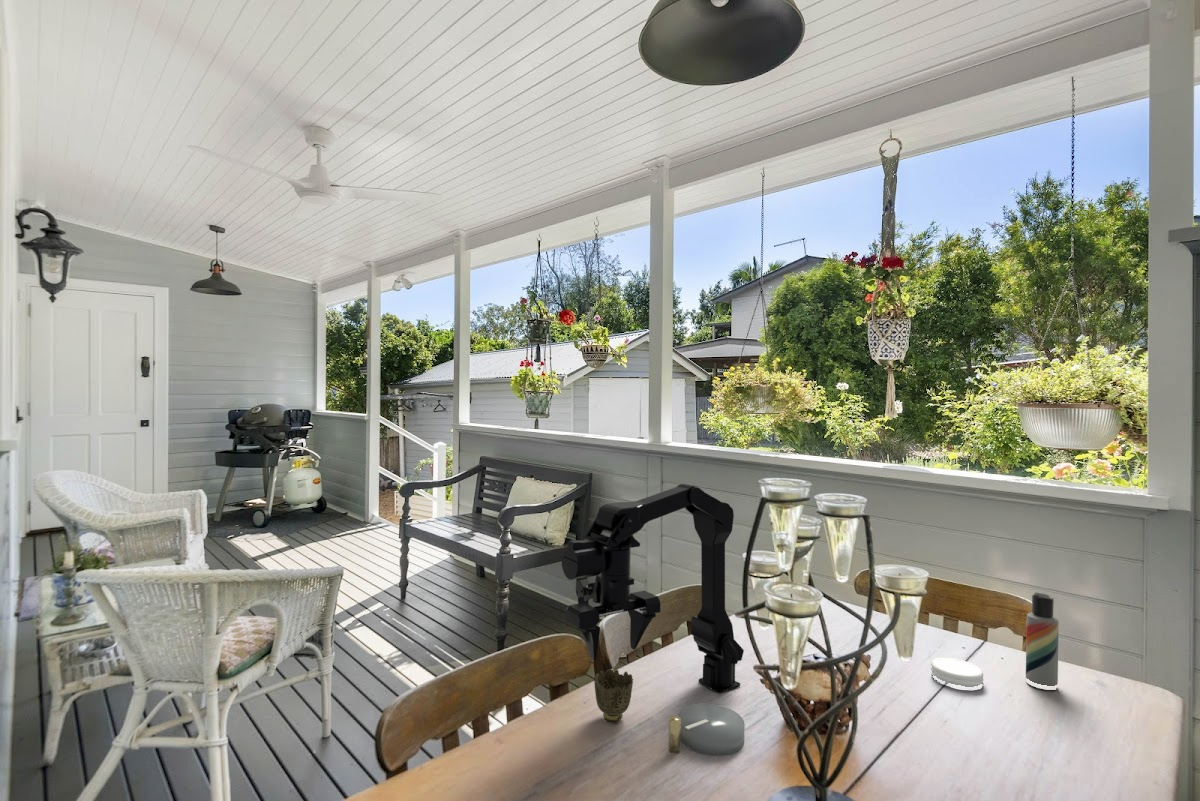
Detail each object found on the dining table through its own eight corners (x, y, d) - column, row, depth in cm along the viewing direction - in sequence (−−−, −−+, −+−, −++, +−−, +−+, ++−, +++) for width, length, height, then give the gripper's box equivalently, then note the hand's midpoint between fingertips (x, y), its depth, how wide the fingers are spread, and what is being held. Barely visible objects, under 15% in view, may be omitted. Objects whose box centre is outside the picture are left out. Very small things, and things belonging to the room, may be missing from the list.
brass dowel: (675, 745, 106) (675, 714, 106) (682, 751, 104) (683, 719, 104) (666, 749, 105) (666, 717, 105) (673, 755, 103) (674, 722, 103)
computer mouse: (711, 713, 117) (711, 696, 117) (758, 742, 107) (758, 724, 107) (663, 730, 111) (663, 713, 111) (709, 763, 101) (709, 744, 101)
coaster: (928, 683, 132) (928, 667, 132) (933, 668, 141) (933, 653, 141) (982, 697, 127) (982, 680, 127) (984, 680, 135) (984, 664, 135)
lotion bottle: (1025, 677, 136) (1027, 588, 136) (1057, 684, 133) (1058, 593, 133) (1025, 686, 132) (1026, 594, 132) (1058, 694, 128) (1059, 600, 128)
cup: (586, 723, 113) (586, 680, 113) (604, 706, 119) (604, 665, 119) (622, 734, 109) (622, 689, 109) (638, 715, 116) (639, 674, 116)
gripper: (629, 556, 126) (628, 630, 126) (551, 568, 116) (550, 649, 116) (663, 568, 117) (662, 649, 117) (581, 583, 107) (580, 671, 107)
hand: (613, 653), depth 114 cm, fingers open, 9 cm apart
